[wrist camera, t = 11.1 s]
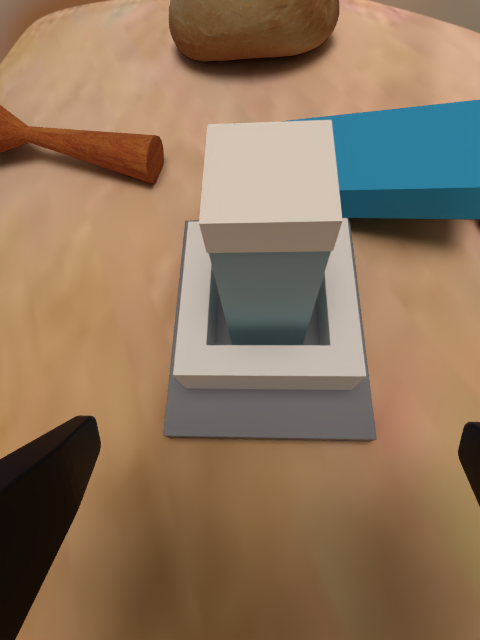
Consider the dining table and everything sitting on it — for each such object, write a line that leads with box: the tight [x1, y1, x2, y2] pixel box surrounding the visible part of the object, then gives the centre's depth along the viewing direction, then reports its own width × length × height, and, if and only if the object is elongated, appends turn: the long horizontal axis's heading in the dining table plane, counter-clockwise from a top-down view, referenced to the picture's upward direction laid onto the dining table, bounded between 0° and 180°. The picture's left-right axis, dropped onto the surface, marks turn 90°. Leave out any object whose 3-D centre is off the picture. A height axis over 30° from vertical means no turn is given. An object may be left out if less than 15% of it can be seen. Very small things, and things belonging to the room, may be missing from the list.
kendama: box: [0, 105, 164, 183], centre depth 27 cm, size 6×6×20 cm
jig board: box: [163, 218, 376, 441], centre depth 20 cm, size 14×11×4 cm
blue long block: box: [281, 100, 480, 219], centre depth 24 cm, size 7×7×18 cm
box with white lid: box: [199, 120, 343, 345], centre depth 16 cm, size 4×4×11 cm
